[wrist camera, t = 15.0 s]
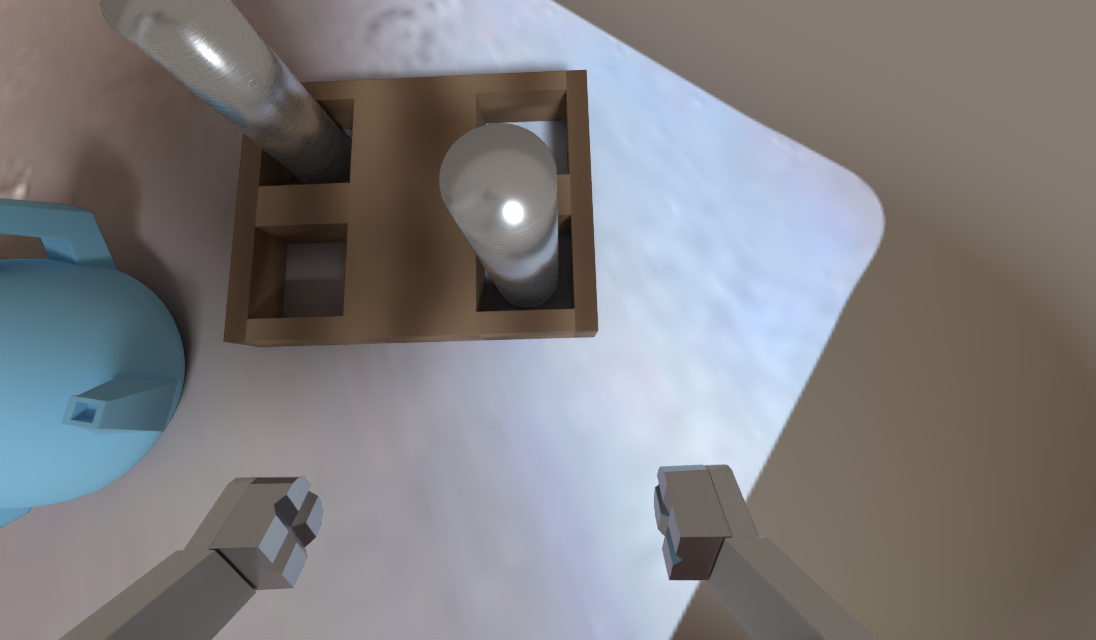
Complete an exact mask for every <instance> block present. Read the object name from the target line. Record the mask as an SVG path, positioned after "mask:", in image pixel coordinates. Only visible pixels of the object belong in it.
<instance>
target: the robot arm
mask: <svg viewBox="0 0 1096 640" xmlns="http://www.w3.org/2000/svg"><path fill="white" fill-rule="evenodd" d="M657 477H658V482H659V485H657V486H656V487H655V492H654V510H655V517H656V522H657V527H658V530H659V531H660V532H661V533H662V534H663V535H664V536H665V538H664V543H663V547H662V550H663V555H664V559H665V564H666V568H667V573H668V577H669V580H709V581H708V583H709V584H710V586H711V587H712V588H713V590H714V591H715V592H716V593H717V594H718V596H719V597H720V598H721V600H722V601H723V602H724V603H725V605H726V606H727V607H728V609H729V610H730V611H731V612H732V614H733V615H734V616H735V617H736V619H737V620H738V621H739V623H740V624H741V625H742V626H743V628H744V629H745V630H746V632H747V633H748V634H749V635H750V637H751V638H752V639H753V640H877V639H876V638H875V637H874V636H873V635H872V634H871V633H870V632H869V631H868V630H867V629H866V628H864V627H863V626H862V625H861V624H860V623H859V622H858V621H857V620H856V619H855V618H853V617H852V616H851V615H850V614H849V613H848V612H847V611H846V610H845V609H844V608H843V607H841V606H840V605H839V604H838V603H837V602H836V601H835V600H834V599H833V598H832V597H831V596H829V594H828V593H826V592H825V591H824V590H823V589H822V588H821V587H820V586H819V585H818V584H817V583H816V582H815V581H813V580H812V579H811V578H810V577H809V576H807V574H806V573H805V572H804V571H803V570H801V569H800V568H799V567H798V566H797V565H796V564H795V563H794V562H793V561H792V560H790V558H788V557H787V556H786V555H785V554H784V553H783V552H782V551H781V550H780V549H779V548H778V547H776V546H775V545H774V544H773V543H772V542H771V541H770V540H769V539H768V538H767V537H759V535H758V533H757V531H756V528H755V526H754V523H753V521H752V518H751V516H750V514H749V511H748V508H747V506H746V504H745V501H744V499H743V496H742V494H741V491H740V489H739V486H738V484H737V481H736V479H735V477H734V474H733V472H732V469H731V468H730V467H729V466H728V465H725V464H723V465H684V466H662V467H660V468H659V469H658V474H657ZM310 487H311V484H310V482H309V481H308V480H307V478H306V477H250V478H236V479H234V480H233V481H232V482H230V483H229V484H228V485H227V486H226V488H225V489H224V491H223V492H222V494H221V495H220V497H219V498H218V500H217V501H216V503H215V504H214V506H213V507H212V509H211V510H210V512H209V513H208V515H207V516H206V517H205V519H204V520H203V522H202V523H201V525H200V526H199V528H198V529H197V531H196V532H195V534H194V535H193V537H192V538H191V540H190V541H189V543H188V544H187V546H186V547H185V549H184V550H179V551H175V552H174V553H173V554H172V555H170V556H169V557H168V558H166V559H165V560H164V561H162V562H161V563H160V564H158V565H157V566H156V567H154V568H153V569H152V570H150V571H149V572H148V573H146V574H145V575H144V576H142V577H141V578H140V579H138V580H137V581H136V582H134V583H133V584H132V585H130V586H129V587H128V588H126V589H125V590H124V591H122V592H121V593H120V594H118V595H117V596H116V597H114V598H113V599H112V600H110V601H109V602H108V603H107V604H105V605H104V606H103V607H101V608H100V609H99V610H97V611H96V612H95V613H93V614H92V615H91V616H89V617H88V618H87V619H85V620H84V621H83V622H81V623H80V624H79V625H77V626H76V627H75V628H73V629H72V630H71V631H69V632H68V633H67V634H65V635H64V636H63V637H61V638H60V639H59V640H212V639H213V638H214V636H215V635H216V634H217V633H218V632H219V631H220V630H221V629H222V628H223V627H224V626H225V625H226V624H227V623H228V622H229V621H230V619H231V618H232V617H233V616H234V615H235V614H236V613H237V612H238V611H239V610H240V609H241V608H242V607H243V606H244V605H245V604H246V603H247V601H248V600H249V599H250V598H251V597H252V596H253V595H254V594H255V593H256V591H255V590H266V589H286V588H294V586H295V584H296V582H297V580H298V577H299V575H300V573H301V571H302V568H303V566H304V564H305V562H306V559H307V553H306V549H305V547H306V546H307V545H308V544H309V543H310V542H311V541H312V540H314V539H315V538H316V536H317V534H318V531H319V529H320V527H321V524H322V517H323V506H322V502H321V500H320V498H319V497H318V496H317V495H315V494H314V493H312V492H310V491H309V489H310Z"/></svg>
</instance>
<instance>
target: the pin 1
mask: <svg viewBox="0 0 1096 640" xmlns="http://www.w3.org/2000/svg"><path fill="white" fill-rule="evenodd" d="M101 9H102V12H103V15H104V17H105V19H106V21H107V22H108V23H109V24H110V26H111V27H112V28H114V29H115V30H116V31H117V32H119V33H120V34H121V35H122V36H123V37H125V38H126V39H127V40H128V41H130V42H131V43H132V44H133V45H135V46H136V47H137V48H138V49H140V50H141V51H142V52H143V53H145V54H146V55H147V56H148V57H149V58H151V59H152V60H153V61H154V62H156V63H157V64H158V65H159V66H161V67H162V68H163V69H164V70H166V71H167V72H168V73H169V74H171V75H172V76H173V77H174V78H176V79H177V80H178V81H179V82H180V83H182V84H183V85H184V86H185V87H187V88H188V89H189V90H190V91H192V92H193V93H194V94H195V95H197V96H198V97H199V98H200V99H202V100H203V101H204V102H205V103H206V104H208V105H209V106H210V107H211V108H213V109H214V110H215V111H216V112H218V113H219V114H220V115H221V116H223V117H224V118H225V119H226V120H228V121H229V122H230V123H231V124H233V125H234V126H235V127H236V128H237V129H239V130H240V131H241V132H242V133H244V134H245V135H246V136H247V137H249V138H250V139H251V140H252V141H254V142H255V143H256V144H257V145H259V146H260V147H261V148H262V149H263V150H265V151H266V152H267V153H268V154H270V155H271V156H272V157H273V158H275V159H276V160H277V161H278V162H280V163H281V164H282V165H283V166H285V167H286V168H287V169H288V170H290V171H291V172H292V173H293V174H294V175H296V176H297V177H298V178H299V179H301V180H302V181H303V182H304V183H306V184H331V183H350V171H351V151H352V143H351V142H350V141H349V139H348V138H347V137H346V136H345V135H344V133H343V132H342V131H341V130H340V129H339V128H338V126H337V125H336V124H335V123H334V122H333V121H332V119H331V118H330V117H329V116H328V115H327V113H326V112H325V111H324V110H323V109H322V108H321V106H320V105H319V104H318V103H317V102H316V100H315V99H314V98H313V97H312V96H311V95H310V93H309V92H308V91H307V90H306V89H305V88H304V86H303V85H302V84H301V83H300V82H299V80H298V79H297V78H296V77H295V76H294V75H293V73H292V72H291V71H290V70H289V69H288V68H287V66H286V65H285V64H284V63H283V62H282V60H281V59H280V58H279V57H278V56H277V55H276V53H275V52H274V51H273V50H272V49H271V48H270V46H269V45H268V44H267V43H266V42H265V40H264V39H263V38H262V37H261V36H260V35H259V33H258V32H257V31H256V30H255V29H254V28H253V26H252V25H251V24H250V23H249V22H248V20H247V19H246V18H245V17H244V16H243V15H242V13H241V12H240V11H239V10H238V9H237V8H236V6H235V5H234V4H233V3H232V2H231V0H101Z"/></svg>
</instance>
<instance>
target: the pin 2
mask: <svg viewBox="0 0 1096 640" xmlns="http://www.w3.org/2000/svg"><path fill="white" fill-rule="evenodd" d="M439 185H440V191H441V195H442V198H443V201H444V203H445V205H446V207H447V208H448V210H449V212H450V213H451V215H452V216H453V218H454V220H455V221H456V223H457V224H458V226H459V228H460V229H461V231H462V232H463V234H464V236H465V237H466V239H467V240H468V242H469V244H470V245H471V247H472V248H473V250H474V252H475V253H476V255H477V256H478V258H479V260H480V261H481V263H482V264H483V266H484V268H485V269H486V271H487V272H488V274H489V276H490V277H491V279H492V280H493V282H494V284H495V285H496V287H497V289H498V290H499V292H500V293H501V295H502V296H503V297H504V298H505V299H506V300H507V301H508V302H510V303H512V304H514V305H516V306H520V307H533V306H537V305H540V304H542V303H544V302H545V301H546V300H548V299H549V298H550V297H551V296H552V294H553V293H554V291H555V289H556V287H557V284H558V277H559V271H558V204H557V170H556V165H555V161H554V158H553V156H552V154H551V152H550V150H549V148H548V147H547V146H546V144H545V143H544V142H543V141H542V140H541V139H540V138H539V137H538V136H536V135H535V134H534V133H532V132H531V131H529V130H527V129H525V128H522V127H520V126H516V125H513V124H506V123H495V124H488V125H483V126H480V127H477V128H475V129H473V130H471V131H469V132H467V133H466V134H464V135H463V136H461V137H460V138H459V139H458V140H457V141H456V142H455V143H454V144H453V145H452V146H451V148H450V149H449V150H448V152H447V154H446V156H445V157H444V160H443V162H442V165H441V169H440V176H439Z"/></svg>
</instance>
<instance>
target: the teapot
mask: <svg viewBox="0 0 1096 640" xmlns="http://www.w3.org/2000/svg"><path fill="white" fill-rule="evenodd" d="M0 233H1V234H11V235H20V236H30V237H39V238H40V239H41V241H42V243H43V245H44V248H45V250H46V252H47V254H48V256H49V258H50V259H39V258H20V259H0V528H1V527H3V526H5V525H7V524H8V523H10V522H12V521H14V520H16V519H18V518H19V517H21V516H23V515H25V514H27V513H29V512H30V510H31V508H32V507H36V506H45V505H50V504H55V503H61V502H65V501H69V500H73V499H77V498H80V497H83V496H85V495H88V494H90V493H93V492H95V491H97V490H98V489H100V488H102V487H104V486H106V485H108V484H109V483H111V482H113V481H115V480H116V479H118V478H119V477H120V476H122V475H123V474H125V473H126V472H127V471H129V470H130V469H131V468H132V467H133V466H134V465H136V464H137V463H138V462H139V461H140V460H141V459H142V458H143V457H144V456H145V455H146V453H147V452H148V451H149V450H150V449H151V448H152V447H153V445H154V444H155V443H156V441H157V440H158V439H159V437H160V436H161V434H162V433H163V432H164V430H165V428H166V427H167V425H168V423H169V421H170V420H171V418H172V416H173V414H174V412H175V409H176V407H177V404H178V402H179V399H180V395H181V392H182V388H183V383H184V376H185V357H184V348H183V344H182V340H181V336H180V333H179V331H178V328H177V326H176V323H175V321H174V319H173V317H172V315H171V314H170V312H169V310H168V309H167V307H166V306H165V304H164V303H163V302H162V301H161V300H160V298H159V297H158V296H157V295H156V294H155V293H154V292H152V291H151V290H150V289H149V288H148V287H147V286H145V285H144V284H142V283H141V282H139V281H138V280H136V279H135V278H133V277H132V276H129V275H127V274H125V273H123V272H121V271H118V270H117V267H116V265H115V263H114V260H113V258H112V256H111V253H110V251H109V249H108V247H107V244H106V242H105V240H104V237H103V235H102V233H101V230H100V228H99V226H98V224H97V221H96V219H95V217H94V214H93V212H90V211H86V210H83V209H79V208H76V207H72V206H69V205H65V204H59V203H47V202H36V201H25V200H13V199H2V198H0Z"/></svg>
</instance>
